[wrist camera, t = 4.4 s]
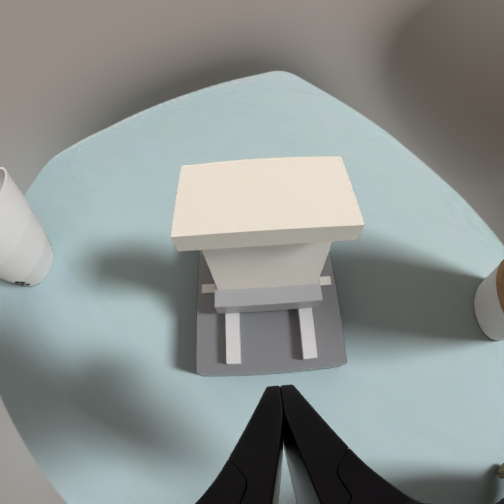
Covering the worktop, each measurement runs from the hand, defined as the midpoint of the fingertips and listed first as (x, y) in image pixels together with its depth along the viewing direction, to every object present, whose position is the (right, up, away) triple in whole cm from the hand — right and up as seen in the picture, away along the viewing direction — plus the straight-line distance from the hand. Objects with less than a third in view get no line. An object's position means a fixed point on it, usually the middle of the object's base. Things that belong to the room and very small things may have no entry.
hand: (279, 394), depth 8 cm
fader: (0, +3, +9) cm, 10 cm away
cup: (-23, +3, +14) cm, 27 cm away
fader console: (0, +4, +13) cm, 13 cm away
